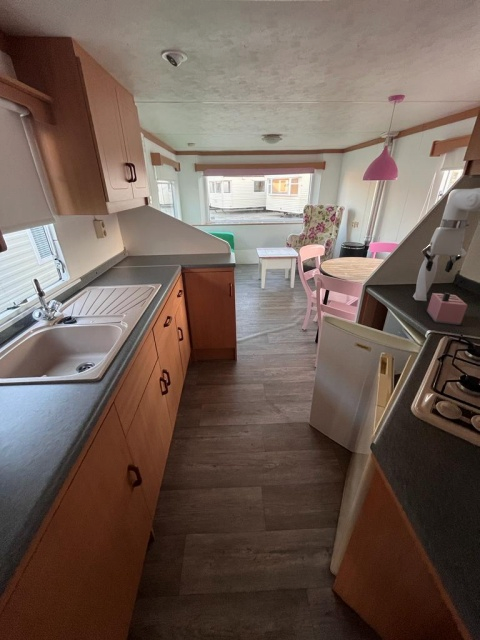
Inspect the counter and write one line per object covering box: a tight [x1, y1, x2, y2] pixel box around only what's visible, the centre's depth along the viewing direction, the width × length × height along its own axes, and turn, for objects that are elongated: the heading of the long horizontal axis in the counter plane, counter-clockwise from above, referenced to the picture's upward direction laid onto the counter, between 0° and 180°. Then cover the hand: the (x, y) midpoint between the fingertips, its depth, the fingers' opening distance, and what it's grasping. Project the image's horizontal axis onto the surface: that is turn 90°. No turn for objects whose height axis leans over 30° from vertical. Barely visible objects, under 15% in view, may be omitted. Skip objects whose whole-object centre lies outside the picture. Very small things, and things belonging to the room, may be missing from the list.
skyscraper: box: [412, 251, 441, 302], centre depth 134 cm, size 8×7×28 cm
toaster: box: [426, 292, 468, 326], centre depth 117 cm, size 9×13×9 cm
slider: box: [442, 292, 451, 301], centre depth 112 cm, size 2×2×3 cm
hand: (437, 270), depth 109 cm, fingers open, 5 cm apart
